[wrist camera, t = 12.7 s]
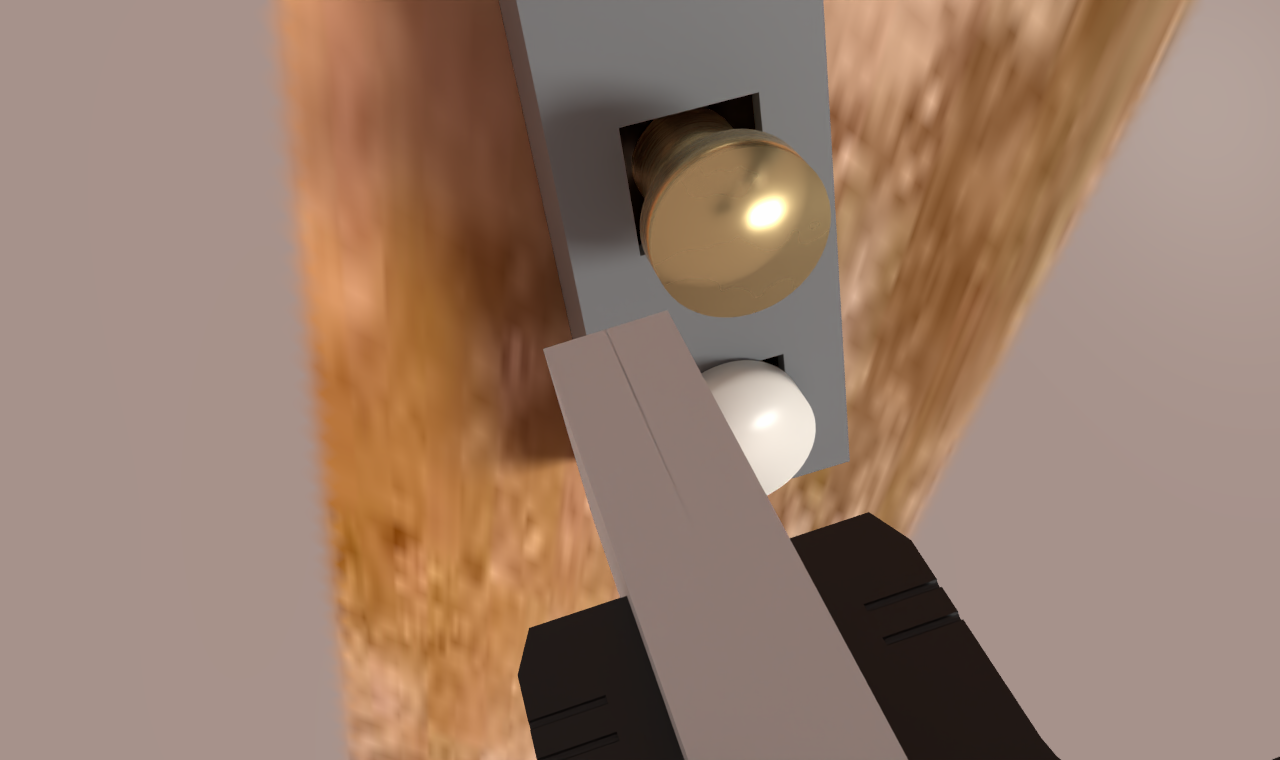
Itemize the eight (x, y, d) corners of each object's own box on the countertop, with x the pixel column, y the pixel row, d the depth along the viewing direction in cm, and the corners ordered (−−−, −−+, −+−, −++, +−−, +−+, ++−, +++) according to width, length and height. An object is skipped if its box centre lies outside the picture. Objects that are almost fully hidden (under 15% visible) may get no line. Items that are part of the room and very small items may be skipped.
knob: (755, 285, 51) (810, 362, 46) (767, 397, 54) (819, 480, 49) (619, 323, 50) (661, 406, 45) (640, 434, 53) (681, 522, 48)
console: (744, -354, 38) (803, -345, 34) (805, 396, 55) (849, 460, 51) (434, -291, 37) (458, -274, 33) (598, 457, 54) (626, 528, 50)
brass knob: (756, 60, 42) (825, 125, 37) (770, 211, 45) (835, 290, 40) (591, 101, 41) (639, 174, 36) (618, 252, 45) (666, 337, 40)
